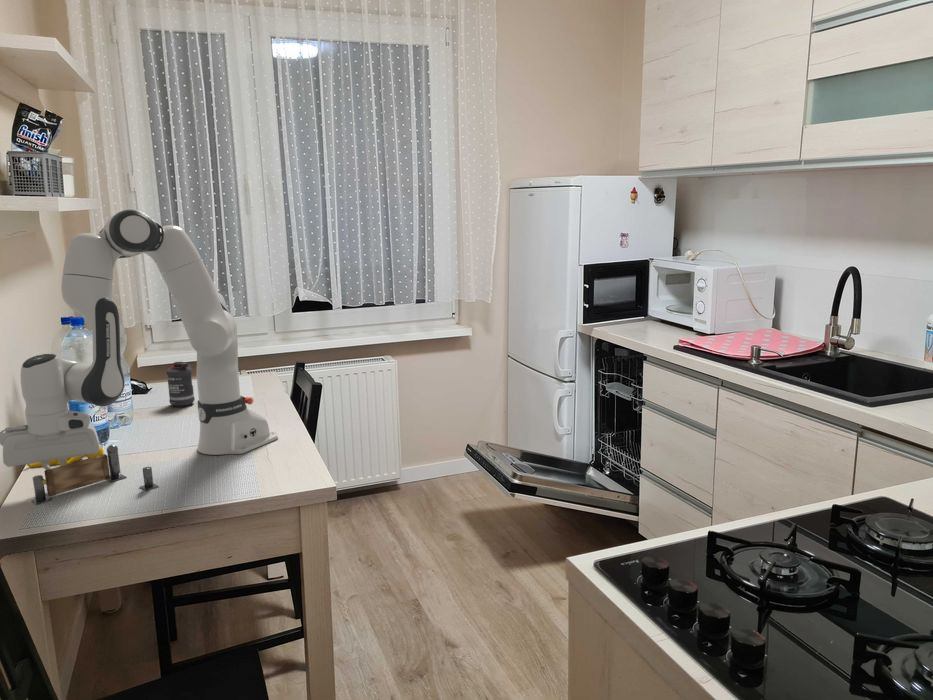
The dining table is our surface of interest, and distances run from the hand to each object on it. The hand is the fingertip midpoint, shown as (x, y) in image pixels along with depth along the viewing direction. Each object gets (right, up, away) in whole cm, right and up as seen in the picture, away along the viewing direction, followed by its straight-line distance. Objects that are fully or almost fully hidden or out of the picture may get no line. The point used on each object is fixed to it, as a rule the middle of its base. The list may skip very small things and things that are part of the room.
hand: (56, 476), depth 170 cm
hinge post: (+11, -2, +6) cm, 13 cm away
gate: (+6, -2, 0) cm, 6 cm away
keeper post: (+23, -3, 0) cm, 23 cm away
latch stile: (0, -5, -7) cm, 8 cm away
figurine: (-8, 0, +18) cm, 20 cm away
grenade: (+2, +12, +71) cm, 72 cm away
